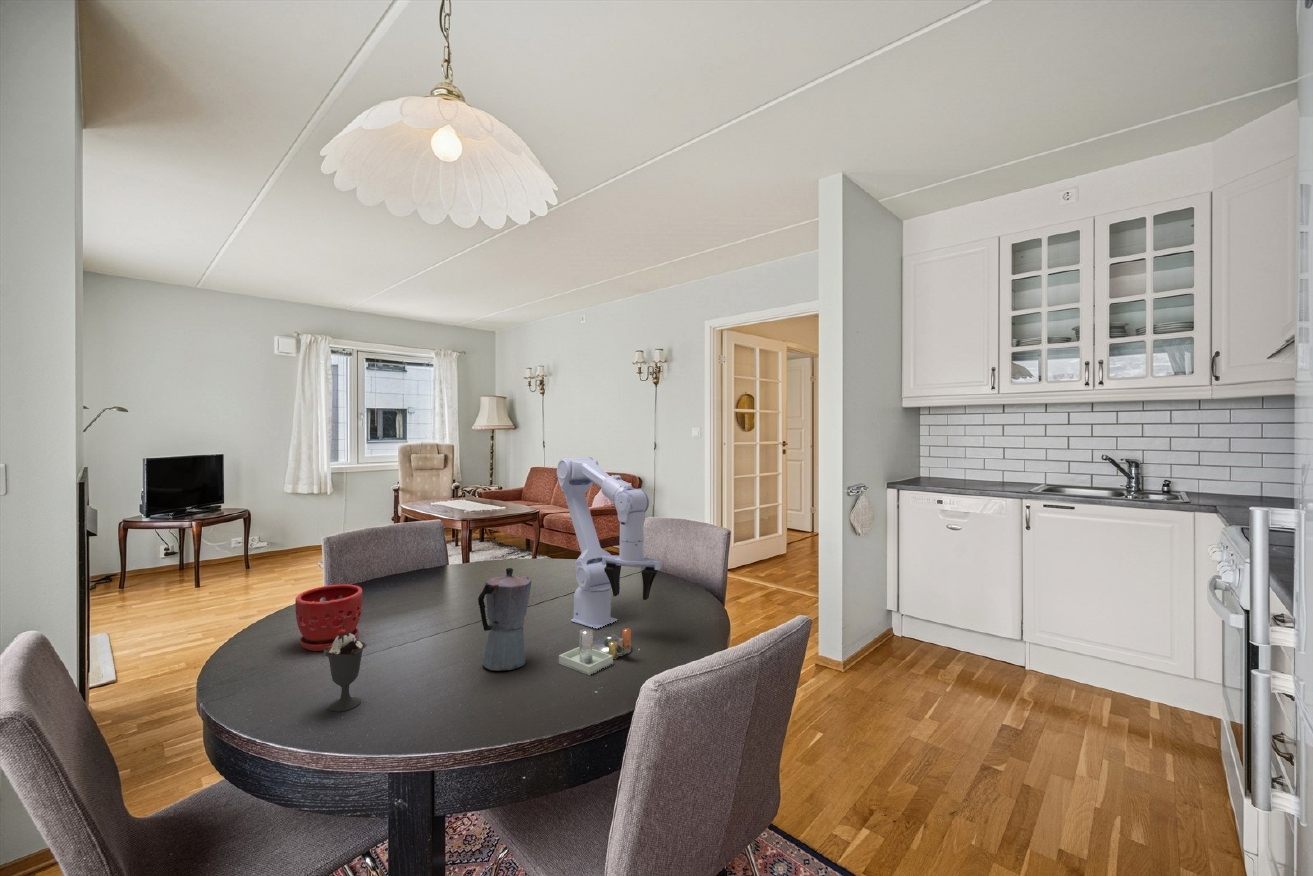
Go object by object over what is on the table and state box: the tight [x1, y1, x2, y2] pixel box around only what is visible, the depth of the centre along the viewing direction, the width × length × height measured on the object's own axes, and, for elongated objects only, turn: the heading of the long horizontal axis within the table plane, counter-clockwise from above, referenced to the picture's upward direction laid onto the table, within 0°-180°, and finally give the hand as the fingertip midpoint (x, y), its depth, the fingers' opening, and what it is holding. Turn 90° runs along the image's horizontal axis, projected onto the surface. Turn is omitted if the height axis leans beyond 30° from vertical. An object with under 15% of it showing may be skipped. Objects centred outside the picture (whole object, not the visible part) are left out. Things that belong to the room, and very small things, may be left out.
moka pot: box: [477, 567, 532, 672], centre depth 113 cm, size 10×15×20 cm, turn 161°
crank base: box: [593, 636, 624, 660], centre depth 121 cm, size 9×9×3 cm
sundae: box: [323, 619, 368, 712], centre depth 95 cm, size 7×7×15 cm
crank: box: [603, 627, 632, 654], centre depth 119 cm, size 9×3×5 cm, turn 36°
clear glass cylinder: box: [578, 628, 594, 664], centre depth 114 cm, size 3×3×6 cm
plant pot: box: [295, 584, 364, 652], centre depth 123 cm, size 13×13×12 cm
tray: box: [558, 646, 614, 677], centre depth 114 cm, size 9×7×2 cm
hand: (630, 597), depth 128 cm, fingers open, 7 cm apart
